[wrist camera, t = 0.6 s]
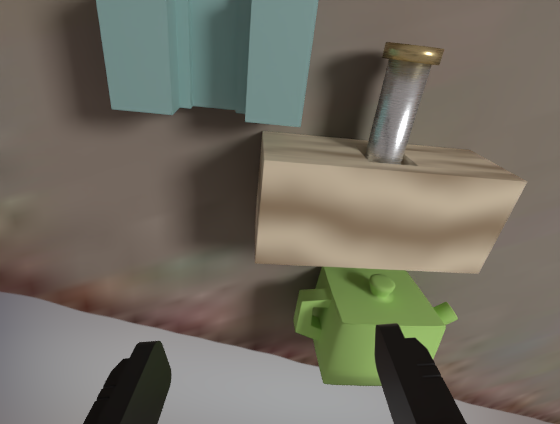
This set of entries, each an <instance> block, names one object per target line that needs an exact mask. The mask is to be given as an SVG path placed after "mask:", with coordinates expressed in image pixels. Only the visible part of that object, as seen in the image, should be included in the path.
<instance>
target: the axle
mask: <svg viewBox="0 0 560 424" xmlns="http://www.w3.org/2000/svg"><path fill="white" fill-rule="evenodd" d="M443 52H444V49H440V48H433V47H425V46H417V45H409V44H400V43H390V42H386V44H385V48H384V52H383V56H382V58H387V59H389V61H388V65H387V69H386V73H385V77H384V81H383V85H382V89H381V93H380V97H379V101H378V105H377V109H376V113H375V117H374V121H373V125H372V129H371V133H370V137H369V141H368V145H367V149H366V153H365V158H366V159H367V160H368V161H369V162H376V163H388V164H400V165H401V162H402V159H403V155H404V152H405V149H406V146H407V143H408V139H409V136H410V133H411V130H412V126H413V123H414V120H415V117H416V114H417V110H418V107H419V104H420V101H421V97H422V94H423V91H424V88H425V85H426V81H427V78H428V75H429V72H430V68H431V65H439V64H440V61H441V58H442V55H443Z"/></svg>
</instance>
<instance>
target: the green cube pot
mask: <svg viewBox="0 0 560 424" xmlns="http://www.w3.org/2000/svg"><path fill="white" fill-rule="evenodd" d="M457 319H458V318H457V316H456V314H455V313H454V311H453V310H452V308H451V307H450V305H449V304H448V303H447V302H444V303H442V304H440V305H438V306H436V307H432V306H431V304H430V303H429V301H428V300H427V299H426V297H425V296H424V295H423V293H422V292H421V290H420V289H419V288H418V286H417V285H416V284H415V282H414V281H413V280H412V278H411V277H410V275H409V274H408V273H407V271H405V270H388V269H366V268H344V267H322V268H321V271H320V274H319V278H318V281H317V284H316V288H315V289H305V290H299V295H298V300H297V304H296V309H295V314H294V319H293V321H294V327H295V332H296V333H299V334H301V335H304V336H306V337H309V338H312V339H313V342H314V346H315V351H316V355H317V359H318V364H319V368H320V372H321V376H322V380H323V383H324V384H331V385H357V386H382V385H381V382H380V379H379V376H378V372H377V369H376V364H375V355H374V352H375V328H376V325H379V324H392V323H397V324H398V325H399V326H400V328H401V331H402V333H403V335H404V337H405V338H414V337H415V338H416V339H417V340H418V341H420V342H421V343H422V344H423V345H424V346H425V347H426V348H427V349H428V351H429V353H430V355H431V357H432V359H433V358H434V356H435V354H436V351H437V349H438V347H439V344H440V342H441V339H442V336H443V334H444V331H445V329H446V327H445V325H447V324H449V323H451V322H453V321H455V320H457Z"/></svg>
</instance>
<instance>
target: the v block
mask: <svg viewBox="0 0 560 424" xmlns="http://www.w3.org/2000/svg"><path fill="white" fill-rule="evenodd" d="M96 4H97V11H98V18H99V25H100V32H101V39H102V46H103V53H104V60H105V67H106V74H107V81H108V88H109V95H110V101H111V108H112V109H114V110H125V111H135V112H146V113H156V114H167V115H173V114H174V113H175V112H176V111H177V110H178V109H179V108H190V109H191V108H192V106H199V107H209V108H219V109H229V110H236V113H241V114H245V122H252V123H262V124H273V125H283V126H294V127H301V120H302V113H303V106H304V99H305V92H306V85H307V78H308V71H309V64H310V56H311V49H312V42H313V35H314V28H315V21H316V14H317V7H318V0H96Z"/></svg>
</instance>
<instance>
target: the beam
mask: <svg viewBox="0 0 560 424" xmlns="http://www.w3.org/2000/svg"><path fill="white" fill-rule="evenodd" d="M367 145H368V141H367V140H356V139H345V138H335V137H324V136H313V135H302V134H291V133H280V132H269V131H262V143H261V155H260V167H259V179H258V191H257V203H256V215H255V263H258V264H279V265H301V266H323V267H344V268H366V269H388V270H409V271H431V272H453V273H474V274H479V272H480V270H481V268H482V266H483V264H484V262H485V260H486V259H487V257H488V255H489V253H490V251H491V249H492V247H493V245H494V243H495V242H496V240H497V238H498V236H499V234H500V232H501V230H502V228H503V227H504V225H505V223H506V221H507V219H508V217H509V215H510V213H511V211H512V210H513V208H514V206H515V204H516V202H517V200H518V198H519V196H520V194H521V193H522V191H523V189H524V187H525V185H526V183H527V181H525V180H523V179H521V178H520V177H518V176H516V175H514V174H512V173H510V172H509V171H507V170H505V169H503V168H501V167H500V166H498V165H496V164H494V163H492V162H491V161H489V160H487V159H485V158H483V157H482V156H480V155H478V154H476V153H474V152H473V151H471V150H465V149H454V148H443V147H432V146H422V145H411V144H407V146H406V149H405V152H404V155H403V159H402V162H401V165H400V164H388V163H376V162H369V161H368V160H367V159H366V158H365V153H366V149H367Z"/></svg>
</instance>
